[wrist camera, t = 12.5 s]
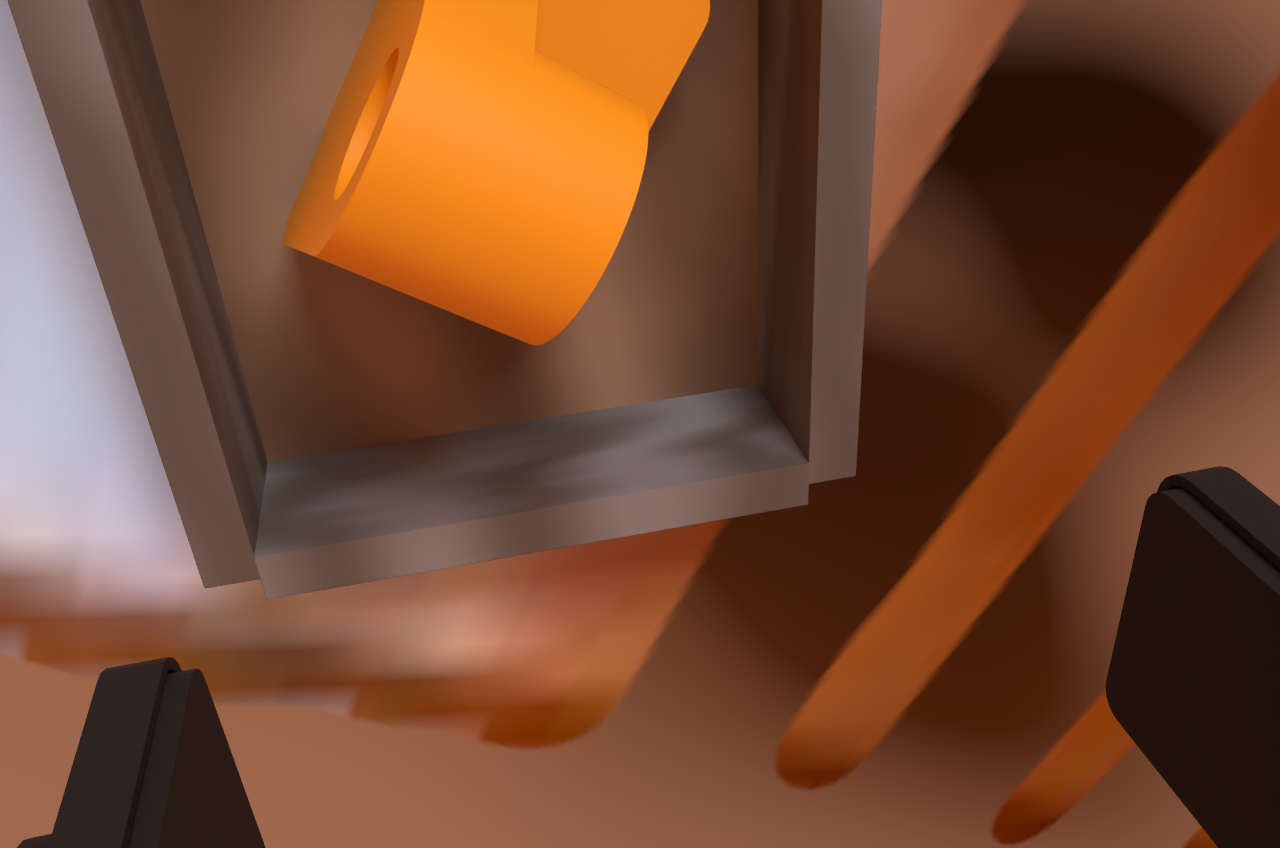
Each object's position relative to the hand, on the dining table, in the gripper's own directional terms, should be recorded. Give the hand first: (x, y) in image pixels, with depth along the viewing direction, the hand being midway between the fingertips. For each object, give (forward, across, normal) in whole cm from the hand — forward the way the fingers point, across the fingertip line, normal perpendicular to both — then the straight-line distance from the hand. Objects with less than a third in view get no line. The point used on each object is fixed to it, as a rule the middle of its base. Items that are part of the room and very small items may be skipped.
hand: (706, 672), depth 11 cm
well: (+24, 0, 0) cm, 24 cm away
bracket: (+23, 0, 0) cm, 23 cm away
